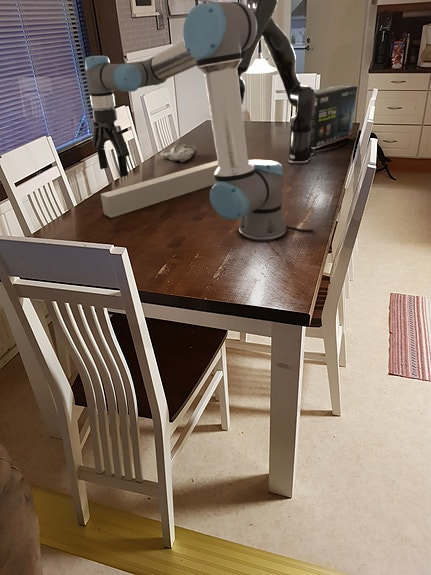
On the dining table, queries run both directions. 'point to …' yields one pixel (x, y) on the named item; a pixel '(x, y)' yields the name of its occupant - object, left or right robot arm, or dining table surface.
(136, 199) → the beam
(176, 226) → the dining table surface
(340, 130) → the router box
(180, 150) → the fossil
